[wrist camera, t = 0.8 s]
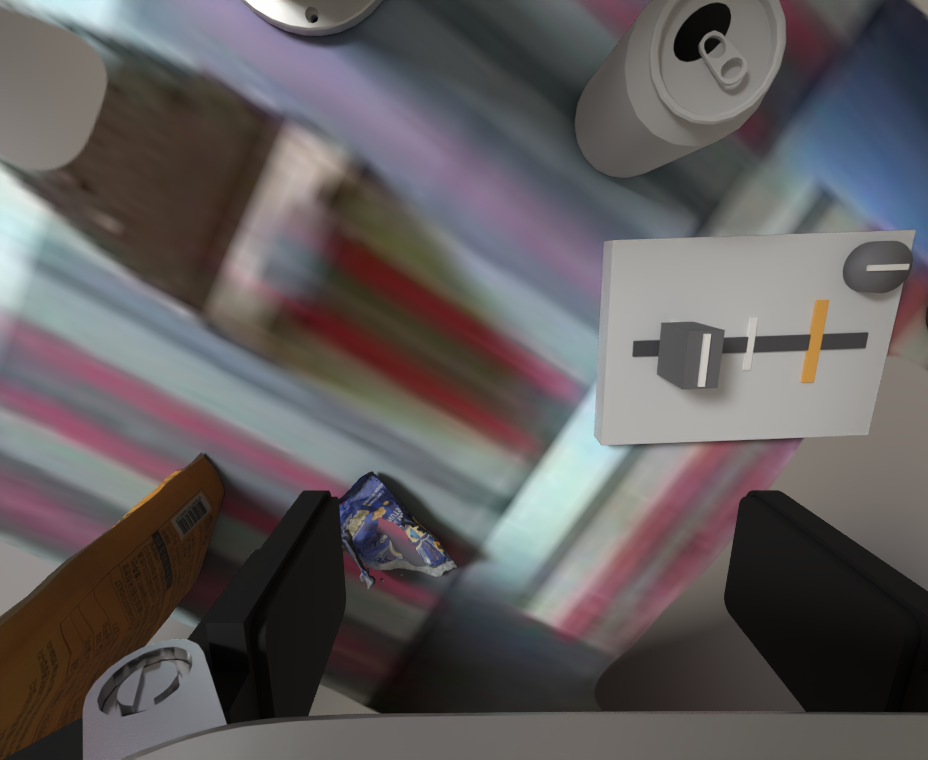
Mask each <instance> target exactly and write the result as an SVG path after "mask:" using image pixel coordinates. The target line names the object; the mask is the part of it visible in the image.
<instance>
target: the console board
mask: <svg viewBox="0 0 928 760" xmlns="http://www.w3.org/2000/svg"><path fill="white" fill-rule="evenodd" d="M915 231H916V230H898V231H869V232H839V233H810V234H781V235H752V236H723V237H694V238H665V239H636V240H611V241H604V249H603V269H602V289H601V308H600V328H599V348H598V367H597V387H596V407H595V427H594V436H595V438H596V439H597V440H598V442H599V443H600V444H601V445H624V444H650V443H676V442H702V441H728V440H754V439H780V438H806V437H831V436H857V435H868V433H869V428H870V424H871V420H872V416H873V412H874V407H875V403H876V399H877V395H878V390H879V386H880V382H881V377H882V373H883V369H884V364H885V360H886V356H887V352H888V347H889V343H890V339H891V334H892V330H893V326H894V322H895V317H896V313H897V309H898V304H899V300H900V296H901V292H902V287H903V283H904V281H905V280H906V278H907V277H908V275H909V273H910V271H911V268H912V261H913V259H912V253H911V249H912V244H913V240H914V236H915ZM665 322H697V323H701V324H704V325H708V326H712V327H715V328H719V329H723V330H725V334H724V342H723V350H722V357H721V365H720V373H719V381H718V388H710V389H684V390H683V389H681V388H679V387H677V386H676V385H674V384H672V383H671V382H669V381H667V380H665V379H664V378H662V377H660V376H659V375H657V365H658V354H659V343H660V332H661V323H665Z"/></svg>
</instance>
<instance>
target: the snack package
mask: <svg viewBox="0 0 928 760" xmlns="http://www.w3.org/2000/svg"><path fill="white" fill-rule="evenodd" d="M345 498H347V500H346V501H345V503H344V504H341V505H339V507H340V521H341V535H342V549H343V550H344V551H347V552H348V553H350V555H351V556H352V557H353V559H354V561H355V563H356V564H357V565H358V566H359V568H360V570H361V575H360V579H361V581H362V582H363V583H364V582H366V584H367V586H368V590H369V589H370V587H371V586H372V585H373V584H374V583H375V580H376V579H374V577H373V576H370V575H369V568H373V569H375V570H392V569H395V568H397V569H398V568H403V569H404V568H405V569H407V570H417V571H421V572H424V573H426V574H428V575H432V576H435V577H437V576H442V574H443V572H445V571H447V570H450V569H452V568H457V567H458V566H457V564H456V563H455V562H454V561H453V560H452V559H451V557H450V556H449V554H448V553H447V551H446V550H445V548H444V547H443V545H442V544H441V543H440V541H439V540H438V539H437V538H436V537H435V536H434V535H432V534H431V533H430V531H428V530H427V529H425V528H424V527H423V526H422V525H420V523H419V522H418V521H417V520H416V518H414V517H413V516H412V515H411V514H410V513H409V512H408V511H407V510H406V509H405V508H404V507H403V505H402V504H400V502H399V501H398V500H397V499H396V498H395V497H394V496H393V495H392V494H391V493H390V492H389V490H388V489H387V488H386V487H385V485H384V484H383V483H382V482H381V480H380V479H379V478H378V476H377V475H376V474H374V473H373V472H369V473H367V474H365V475H364V476H362V477H361V478H360V479H359V480H358V481H357V482H356V483H355V484H354V485H353V486H352V488H351V489H350V490H349V491H348V492H347V493H346V494H345V495H344V496H343V497H341V498H340V499H339V504H340V503H341V502H342V501H343V500H344V499H345ZM378 517H381V518H383V519H385V520H388V521H391V522H393V523H395V524H397V525H398V526H399V527H400V528H401V529H402V530H404V531H405V532H406V533H407V535H408V536H409V537H410V539H411V540H412V541H411V540H409V539H408V541H409V542H410V544H412V545H413V543H414V545H415V547H416V550H417V553H419V554H420V556H421V557H422V558H423V560H424V561H425V564H426V563H427V566H424V567H417V566H413V565H411V564H409V563H408V561H407V560H406V559H403V557H402V555H401V554H400V553H399V552H398V551H397V550H396V549H395V548H394V546H393V545H392V543H391V541H390V538H389V537H388V536H386V535H380V534H378V535H377V534H376V529H377V526H378V519H377V518H378ZM431 565H433V566H434V565H439V567H437V568H430V566H431ZM364 566H368V567H369V568H367V569H365V567H364ZM445 569H446V570H445ZM401 576H403V575H402V574H401ZM383 580H384V579H382V578H381V582H383Z"/></svg>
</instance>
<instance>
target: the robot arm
mask: <svg viewBox="0 0 928 760" xmlns="http://www.w3.org/2000/svg"><path fill="white" fill-rule="evenodd" d="M242 1H243V2H244V3H245V4H246V5H247V6H248V7H249V8H250V9H251V10H252V11H253V12H254V13H256V14H257V15H258V16H260V17H261V18H263V19H264V20H265V21H267V22H268V23H270V24H272V25H274V26H276V27H278V28H281V29H283V30H285V31H288V32H292V33H296V34H300V35H304V36H325V35H330V34H335V33H340V32H342V31H344V30H346V29H349V28H351V27H353V26H355V25H357V24H358V23H360V22H361V21H362V20H364V19H365V18H366V17H367V16H369V15H370V14H371V13H372V12H373V11H374V10H375V9H376V8H377V6H378V5H379V4H380V3H381V2H382V1H383V0H242ZM315 18H318V20H317V22H315V23H313V20H314V19H315ZM724 600H725V605H726V608H727V610H728V612H729V614H730V615H731V617H732V618H733V619H734V620H735V622H736V623H737V624H738V626H739V627H740V628H741V629H742V631H743V632H744V633H745V634H746V636H747V637H748V638H749V639H750V641H751V642H752V643H753V645H754V646H755V647H756V648H757V650H758V651H759V652H760V653H761V655H762V656H763V657H764V659H765V660H766V661H767V662H768V664H769V665H770V666H771V668H772V669H773V670H774V671H775V673H776V674H777V675H778V676H779V678H780V679H781V680H782V682H783V683H784V684H785V685H786V687H787V688H788V689H789V690H790V692H791V693H792V694H793V695H794V697H795V698H796V699H797V701H798V702H799V703H800V705H801V706H802V707H803V708H804V710H805V711H806V712H520V713H406V714H343V715H325V716H324V715H322V716H308V715H309V712H310V709H311V706H312V703H313V701H314V697H315V695H316V692H317V689H318V686H319V683H320V681H321V678H322V675H323V672H324V669H325V666H326V663H327V660H328V658H329V655H330V652H331V649H332V646H333V643H334V640H335V638H336V635H337V632H338V629H339V626H340V623H341V620H342V617H343V614H344V611H345V604H346V591H345V577H344V563H343V549H342V535H341V521H340V507H339V500H338V497H331V494H330V492H329V491H303V492H302V493H301V494H300V495H299V497H298V498H297V500H296V501H295V502H294V504H293V505H292V506H291V508H290V509H289V510H288V512H287V513H286V515H285V516H284V517H283V519H282V520H281V521H280V523H279V524H278V525H277V527H276V528H275V529H274V531H273V532H272V534H271V535H270V536H269V538H268V539H267V540H266V542H265V543H264V544H263V546H262V547H261V549H258V550H255V551H254V552H253V553H252V554H251V555H250V557H249V558H248V559H247V561H246V562H245V563H244V565H243V566H242V567H241V569H240V570H239V571H238V573H237V574H236V575H235V577H234V578H233V579H232V581H231V582H230V583H229V585H228V586H227V587H226V589H225V590H224V591H223V593H222V594H221V595H220V597H219V598H218V599H217V601H216V602H215V603H214V605H213V606H212V607H211V609H210V610H209V611H208V612H207V614H206V615H205V616H204V618H203V619H202V620H201V622H200V623H199V624H198V626H197V627H196V628H195V630H194V631H193V633H192V634H191V635H190V636H189V638H188V639H187V640H183V639H172V640H166V641H160V642H157V643H154V644H151V645H148V646H145V647H142V648H140V649H138V650H137V651H135V652H133V653H131V654H129V655H127V656H125V657H124V658H122V659H121V660H120V661H118V662H117V663H115V664H114V665H113V666H111V667H110V668H108V670H107V671H106V672H105V673H104V674H103V675H102V676H101V677H100V678H99V679H98V680H97V681H96V682H95V683H94V684H93V686H92V688H91V689H90V691H89V692H88V694H87V695H86V698H85V702H84V706H83V717H81V718H79V719H77V720H76V721H74V722H72V723H70V724H68V725H66V726H64V727H62V728H61V729H59V730H57V731H55V732H53V733H51V734H49V735H47V736H46V737H44V738H42V739H40V740H38V741H36V742H34V743H32V744H31V745H29V746H27V747H25V748H23V749H21V750H19V751H17V752H16V753H14V754H12V755H10V756H8V757H6V758H4V759H2V760H928V591H926V590H925V589H923V588H922V587H920V586H919V585H917V584H916V583H915V582H913V581H912V580H910V579H909V578H907V577H906V576H904V575H903V574H901V573H900V572H898V571H897V570H896V569H894V568H893V567H891V566H890V565H888V564H887V563H885V562H884V561H882V560H881V559H879V558H878V557H877V556H875V555H874V554H872V553H871V552H869V551H868V550H866V549H865V548H863V547H862V546H860V545H859V544H857V543H856V542H855V541H853V540H852V539H850V538H849V537H847V536H846V535H844V534H843V533H841V532H840V531H838V530H837V529H835V528H834V527H833V526H831V525H830V524H828V523H826V522H825V521H824V520H822V519H821V518H819V517H818V516H816V515H815V514H813V513H812V512H811V511H809V510H808V509H806V508H805V507H803V506H802V505H800V504H799V503H797V502H796V501H794V500H793V499H791V498H790V497H789V496H787V495H786V494H784V493H783V492H780V491H770V490H752V491H750V492H748V494H747V495H746V497H743V498H742V499H741V500H740V503H739V509H738V515H737V521H736V527H735V533H734V539H733V546H732V551H731V558H730V565H729V570H728V576H727V582H726V588H725V594H724Z"/></svg>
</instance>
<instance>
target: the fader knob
mask: <svg viewBox="0 0 928 760" xmlns="http://www.w3.org/2000/svg"><path fill="white" fill-rule="evenodd" d="M724 334H725V330H723V329H719V328H715V327H712V326H708V325H704V324H701V323H697V322H665V323H661V332H660V343H659V354H658V365H657V375H659V376H660V377H662V378H664V379H665V380H667V381H669V382H671V383H672V384H674V385H676V386H677V387H679V388H681V389H683V390H684V389H710V388H718V381H719V373H720V365H721V357H722V350H723V342H724Z"/></svg>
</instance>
